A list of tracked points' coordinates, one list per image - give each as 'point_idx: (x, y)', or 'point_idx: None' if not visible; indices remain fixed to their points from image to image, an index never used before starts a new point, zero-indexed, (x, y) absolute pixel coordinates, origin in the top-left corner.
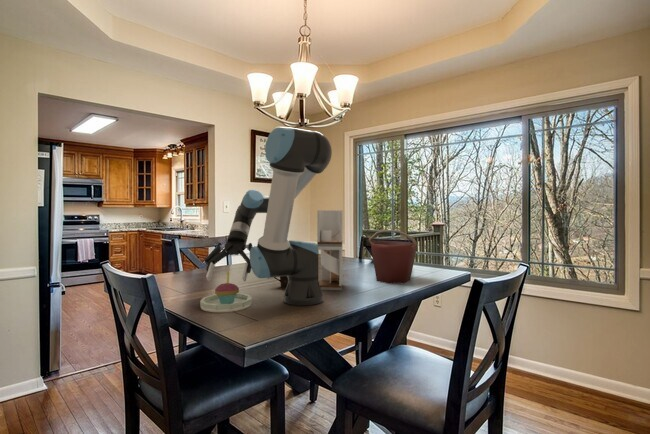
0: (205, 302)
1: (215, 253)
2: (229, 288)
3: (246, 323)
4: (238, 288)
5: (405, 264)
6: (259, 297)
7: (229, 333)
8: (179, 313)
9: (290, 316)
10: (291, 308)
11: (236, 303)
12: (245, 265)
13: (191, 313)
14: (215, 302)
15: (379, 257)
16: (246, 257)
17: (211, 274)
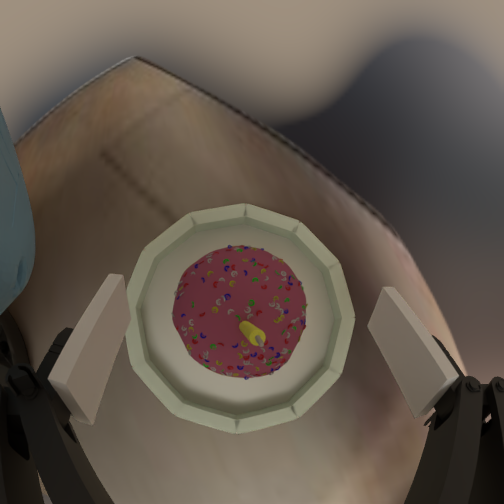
0: (310, 244)
1: (490, 485)
2: (211, 259)
3: (129, 131)
4: (171, 313)
5: None
6: (131, 447)
7: (164, 84)
8: (362, 210)
9: None
10: None
11: (169, 230)
12: (74, 357)
13: (327, 209)
14: None
15: None
16: (51, 462)
17: (388, 352)
